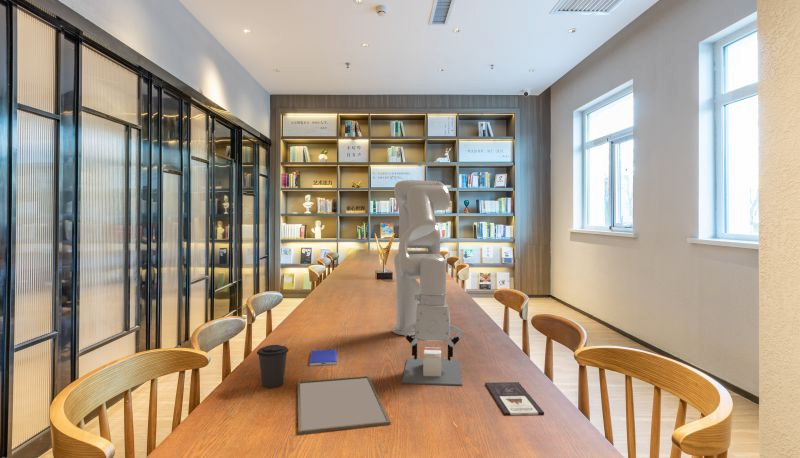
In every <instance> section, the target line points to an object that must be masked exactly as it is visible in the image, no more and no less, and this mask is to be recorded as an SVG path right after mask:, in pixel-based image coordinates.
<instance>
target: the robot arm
mask: <svg viewBox="0 0 800 458" xmlns="http://www.w3.org/2000/svg"><path fill="white" fill-rule="evenodd" d="M393 190H394V191H393V192H394V194H393V195H394V199H395V201H396V204H397V208H398V212H399V219H398V220H399V221H398V223H399V224H398V241H399V244H398V250H397V251H398V252H397V253H395V256H394V261H393V262H394V263H393V264H394V270H395V280H396V281H395V282H396V283H395V284H396V285H395V286H396V291H395V292H396V302H395V303H396V314H395V315H396V318H395V319H396V325H395V326H393V328H392V331H391V332H392V333H393V334H394V335H395V334H396V335H399V336H404V337H405V339H406V341H408V342H409V344H410V346H411V356H413V358H414V360H416V359H417V358H418V342H419V341H423V342H424V341H426V342H427V341H430V342H446V343H447V359H448V360H449V361H450V359H451V358H453V356H454V346H455V345H456V344H457V343H458V342H459V341H460V339H461V337H462V336H463V334H464V332H463V330H462V329H461V328H459V327H457V326H455V325H453V324H451V313H450V308H449V304H448V303H447V260H446V259H445V258H444V257H443V255H442V254H441V230H440V227H439V226H438V225H437V223H436V215H435V211H446V210H448V209H449V207H450V204H451V194H450V192H449V188H448V187H447V186H446V185H445V184H444V183H443V182H441V181H439V180H414V179H407V180H405V179H404V180H400V181H398V182H396V183H395V185H394V189H393ZM408 249H427V250H408ZM417 279H419V281H418V280H417ZM451 332H454V333H456V334H455V336H454V337H453V338H451Z"/></svg>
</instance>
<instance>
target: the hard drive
mask: <svg viewBox="0 0 800 458" xmlns="http://www.w3.org/2000/svg"><path fill="white" fill-rule="evenodd" d="M328 365H329V366H330V365H331V366H333V365H334V366H335V365H338V351H337V349H336V348H330V349H329V348H328V349H327V348H326V349H325V348H324V349H312V350H311V351H310V358H309V366H310V367H311V366H328Z"/></svg>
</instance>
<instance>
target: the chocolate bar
mask: <svg viewBox="0 0 800 458" xmlns="http://www.w3.org/2000/svg"><path fill="white" fill-rule="evenodd" d="M484 384H485V387H486V386H487V387H486V389H487V390H488V391H490V392H489V394H490V395H491V396H492V397H493V399H494V401H495V403H496V404H497V406H498V407H499V410H500V411H501V412H502V414H503V415H504V416H541V415H543V416H544V415H545V412H544V410H543V409H542V408H541V407H540V406H539V404H538V403H537V402H536V401H535V400H534V399H533V397H532V396H531V395H530V394H529V393H528V392H527V390H526V389H525V388H524V387H523V385H521V383H520V382H519V381H515V382H513V381H511V382H510V381H509V382H506V381H505V382H499V381H498V382H485V383H484Z"/></svg>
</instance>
